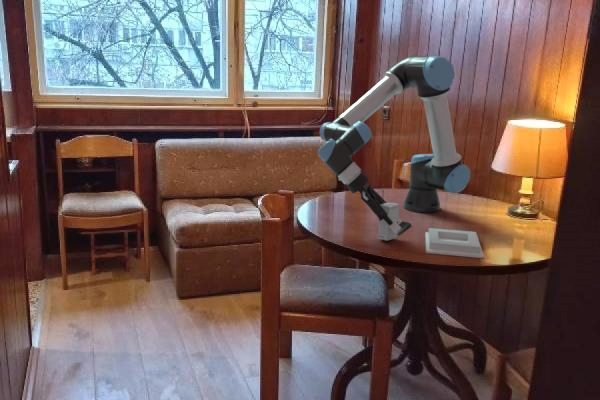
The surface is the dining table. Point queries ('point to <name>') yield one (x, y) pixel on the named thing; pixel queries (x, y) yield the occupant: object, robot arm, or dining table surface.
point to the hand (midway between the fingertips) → (398, 227)
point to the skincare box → (383, 228)
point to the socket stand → (453, 243)
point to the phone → (403, 227)
